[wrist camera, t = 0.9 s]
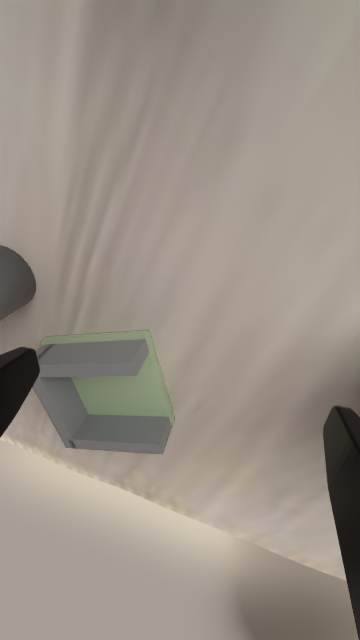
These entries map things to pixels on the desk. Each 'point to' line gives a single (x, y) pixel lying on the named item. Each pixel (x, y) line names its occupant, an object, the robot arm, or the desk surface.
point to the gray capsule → (14, 282)
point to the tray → (105, 391)
